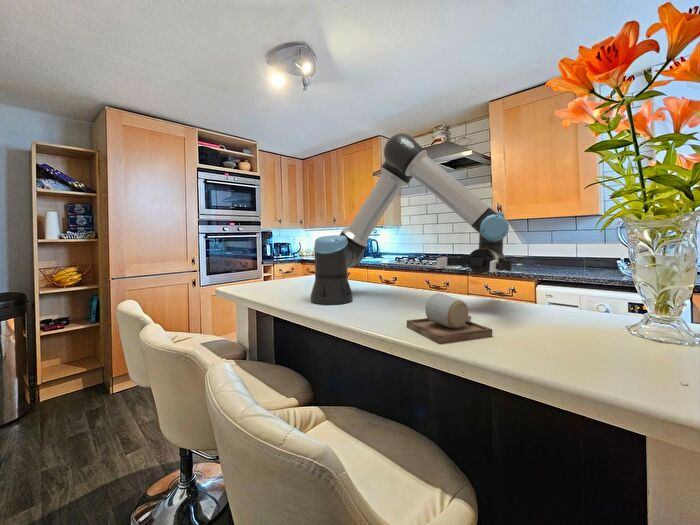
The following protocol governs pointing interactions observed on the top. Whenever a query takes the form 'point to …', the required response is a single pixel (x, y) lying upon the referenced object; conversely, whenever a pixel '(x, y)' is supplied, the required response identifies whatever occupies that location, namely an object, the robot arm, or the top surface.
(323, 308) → the top surface
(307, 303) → the top surface
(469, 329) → the walnut board
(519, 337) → the top surface
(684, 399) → the top surface
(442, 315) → the ceramic mug
